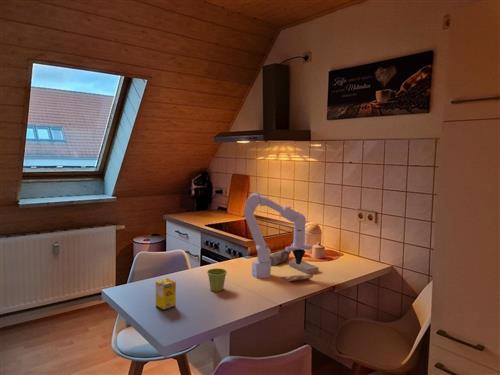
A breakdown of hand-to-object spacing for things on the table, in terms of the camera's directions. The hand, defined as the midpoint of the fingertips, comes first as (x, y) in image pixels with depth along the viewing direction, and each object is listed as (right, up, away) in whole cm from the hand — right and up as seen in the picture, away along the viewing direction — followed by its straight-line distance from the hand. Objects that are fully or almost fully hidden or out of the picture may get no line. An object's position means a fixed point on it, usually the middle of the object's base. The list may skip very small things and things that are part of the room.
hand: (298, 263), depth 193 cm
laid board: (-2, -8, +1) cm, 9 cm away
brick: (+5, -8, +16) cm, 18 cm away
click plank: (0, -7, -4) cm, 8 cm away
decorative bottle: (-6, -6, +31) cm, 32 cm away
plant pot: (-40, -9, -15) cm, 44 cm away
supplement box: (-60, -11, -36) cm, 71 cm away
